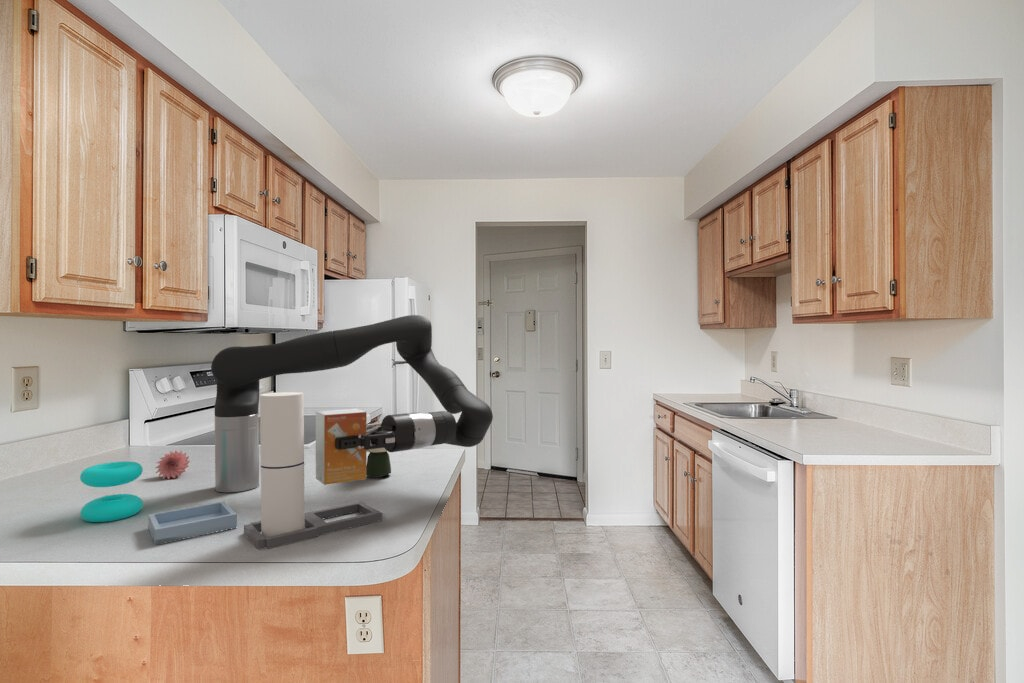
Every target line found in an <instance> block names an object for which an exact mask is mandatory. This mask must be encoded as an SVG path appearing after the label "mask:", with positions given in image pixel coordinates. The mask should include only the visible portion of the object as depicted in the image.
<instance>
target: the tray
mask: <svg viewBox="0 0 1024 683" xmlns="http://www.w3.org/2000/svg"><path fill="white" fill-rule="evenodd" d="M147 516H148V530H150V531H149V533H150V535H151V537H153V538H152V540H153V542H155V543H154V545H155V546H157V544H158V545H162V544H161V543H163V544H166V543H165V542H168V543H171V542H170V541H173V542H175V541H174V540H178V541H180V540H179V539H182V540H184V539H183V538H187V539H189V538H188V537H192V538H194V537H193V536H197V537H199V536H198V535H202V536H204V535H203V534H207V533H212V532H216V531H221V530H226V529H231V528H236V527H237V528H238V514H237V512H236V511H234V509H232V508H231V506H229V504H228V503H227V502H226V501H225V500H223V501H216V502H211V503H205V504H200V505H194V506H188V507H183V508H179V509H178V508H176V509H172V510H171V509H170V510H166V511H160V512H154V513H149V514H147ZM237 528H236V529H237ZM231 530H232V529H231ZM226 531H227V530H226ZM221 532H222V531H221ZM216 533H217V532H216ZM212 534H213V533H212ZM207 535H208V534H207Z"/></svg>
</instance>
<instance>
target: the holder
mask: <svg viewBox="0 0 1024 683" xmlns="http://www.w3.org/2000/svg"><path fill="white" fill-rule="evenodd" d="M355 511H358V512H359V513H360V512H361V513H360V515H355V516H351V517H346V518H341V519H336V520H332V521H328V522H326V521H325V519H328V517H330V518H333V517H332V516H335V517H337V516H336V515H339V516H342V515H341V514H344V515H347V514H346V513H348V514H351V513H350V512H353V513H356V512H355ZM362 513H363V514H362ZM323 518H325V519H323ZM381 521H383V512H381V511H380V510H378V509H376V508H374V507H373V506H371V505H369V504H367V503H365V502H363V501H357V502H352V503H351V502H350V503H348V504H347V503H346V504H343V505H338V506H333V507H327V508H322V509H318V510H312V511H308V512H307V511H306V512H305V529H302V530H297V531H293V532H288V533H284V534H279V535H275V536H270V537H266V538H265V537H264V536H263V535H262V534H261V520H258V521H254V522H249V524H244V525H243V535H244V536H247V537H248V538H247V537H246V538H247V539H248V540H249V541H250V542H251V543H252V545H253V546H254V547H255V548H256V549H257V550H263V549H266V550H267V549H271V548H277V547H279V546H280V547H281V546H284V545H285V546H286V545H289V544H293V542H294V543H297V541H298V542H301V540H302V541H305V540H310V538H311V539H314V537H315V538H318V536H322V535H326V533H327V534H329V533H333V531H334V532H339V531H342V529H343V530H347V529H350V527H352V528H355V526H356V527H359V525H360V526H363V525H368V523H369V524H372V522H373V523H377V522H381ZM338 530H339V531H338ZM321 534H322V535H321Z"/></svg>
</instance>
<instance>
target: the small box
mask: <svg viewBox="0 0 1024 683" xmlns="http://www.w3.org/2000/svg"><path fill="white" fill-rule="evenodd" d="M367 419H368V418H367V411H365V410H363V409H360V408H347V409H332V410H331V409H330V410H320V411H319V410H318V411H315V479H316V480H317V481H318V482H320V483H321V484H322V485H324V486H326V485H333V484H338V483H339V484H340V483H348V482H349V483H350V482H354V481H355V482H356V481H364V480H367V475H366V466H367V451H366V449H364V448H362V449H359V448H357V446H356V448H349V449H342V450H338V449H336V448H335V439H336V438H337V437H344V436H353V435H355V436H356V437H357V435H359V434H366V433H367V431H366V429H367V425H368V424H367V423H368V422H367Z"/></svg>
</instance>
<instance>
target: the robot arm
mask: <svg viewBox="0 0 1024 683" xmlns="http://www.w3.org/2000/svg"><path fill="white" fill-rule="evenodd" d="M432 333H433V326H432V322H431V321H430V319H429V318H428V317H426V316H423V315H419V314H411V315H410V314H409V315H404V316H399V317H395V318H391V319H388V320H384V321H379V322H376V323H373V324H367V325H362V326H356V327H350V328H343V329H336V330H329V331H323V332H317V333H313V334H308V335H302V336H300V337H296V338H293V339H289V340H286V341H281V342H278V343H272V344H265V345H255V346H252V345H251V346H237V345H235V346H230V347H229V346H228V347H226V348H224V349H222V350H220V351H218V353H217V354H215V356H214V358H213V360H212V362H211V367H210V369H211V374H212V375H213V377H214V378H215V380H216V397H215V402H214V465H215V467H214V469H215V471H214V474H215V476H214V479H215V480H214V481H215V483H214V484H215V485H214V488H215V492H218V493H219V492H220V493H239V492H245V491H249V490H252V489H256V488H257V487H259V485H260V442H259V441H260V430H259V429H260V425H259V421H260V418H259V417H260V416H259V408H260V380H262V379H267V378H271V377H275V376H278V375H279V376H281V375H288V374H289V375H290V374H302V373H311V372H318V371H319V372H320V371H327V370H333V369H339V368H344V367H346V366H350V365H351V364H353V363H354V362H356V361H357V360H359V359H360V358H362V357H363V356H365V355H366V354H368V353H369V352H371V351H372V350H373V349H377V348H378V347H380V346H384V345H386V344H392V343H395V346H396V350H397V353H398V355H400V357H401V358H402V359H403V360H404V361H405V362H406V363H407V364H408V365H409V366H410V367H411V368H412V369H413V370H414V371H415V372H416V373H417V374H418V375H419V376H420V378H422V380H424V382H425V383H426V384H427V386H428V387H429V389H431V391H432V393H433V394H434V395H435V397H436V398H437V400H438V401H439V403H440V404H441V405H442V407H443V409H444V410H445V411H444V410H441V411H432V412H430V411H429V412H418V411H417V412H409V413H408V412H407V413H397V414H396V413H395V414H388V415H386V416H384V417H383V419H382V420H381V422H380V423H381V425H380V426H376V423H369V425H368V424H366V425H367V429H366V431H367V433H366V434H359V435H357V437H356V436H355V435H353V436H344V437H337V438H336V439H335V448H336V449H338V450H342V449H349V448H356V446H357V448H359V449H362V448H364V449H366V450H369V449H376V448H385V449H386V450H387V453H396V452H403V451H410V450H417V449H422V448H425V447H430V446H436V445H437V446H438V445H443V444H446V445H451V446H458V447H465V448H471V447H475V446H477V445H479V444H481V442H483V441H484V438H485V436H486V434H487V432H488V430H489V429H490V426H491V425H492V422H493V419H494V416H493V411H492V409H491V407H490V406H489V404H488V403H486V402H485V401H484V400H483V399H481V398H480V397H478V396H476V395H475V394H474V393H472V392H471V391H470V390H469V389H468V387H467V386H466V385H465V384H464V382H463V381H462V380H461V378H460V377H459V376H458V375H457V374H456V373H455V371H453V370H452V369H450V368H448V367H447V366H444V365H442V364H440V362H438V360H437V358H436V357H435V354H434V353H433V352H434V351H433V349H432V344H433V343H432V342H433V336H432V335H433V334H432ZM456 414H460V415H459V418H458V420H457V421H456V418H455V416H454V415H456Z"/></svg>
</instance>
